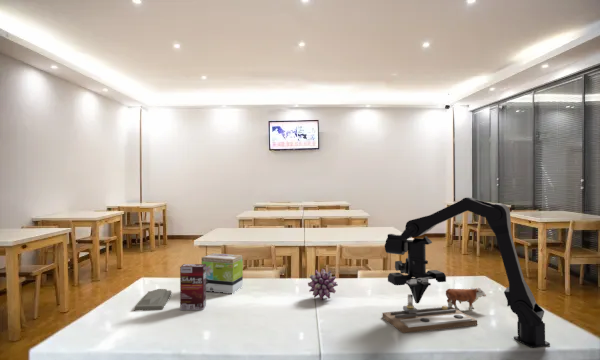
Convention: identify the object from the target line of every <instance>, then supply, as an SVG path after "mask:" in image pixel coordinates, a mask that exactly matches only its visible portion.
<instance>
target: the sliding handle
mask: <svg viewBox="0 0 600 360" xmlns="http://www.w3.org/2000/svg"><path fill="white" fill-rule="evenodd" d="M413 303H414V297H413V295H412V293H411V294H407V305H403V306H402V309H403V310H402V311H406V312H407V313H409V314H411V313H417V309H418V308H416V307H415V305H413Z"/></svg>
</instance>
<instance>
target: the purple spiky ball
mask: <svg viewBox="0 0 600 360" xmlns="http://www.w3.org/2000/svg"><path fill="white" fill-rule="evenodd" d="M314 273H315V275H314V274H310V275H309V276H308V277H309V279H310V280H311V281H309V282H307V285H308V287H310V289H309V290H308V291H309V293H310V292H313V293H312V296H313V297H314V298H316V297H318V296H319V299H320V300H324V297H327V298H328V299H331V293H333V294H335V293H336V292H337V290H336V289H335V288H334V287H337V286H338V283H337V281H335V279H337V276H335V275H334V276H332V275H333V273H332V270H329V271H328V272H327V271H326V270H325V269H324V268H321V271H318V269H316V270H315V272H314Z"/></svg>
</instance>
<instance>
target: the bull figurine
mask: <svg viewBox="0 0 600 360" xmlns="http://www.w3.org/2000/svg"><path fill="white" fill-rule="evenodd" d="M445 296H446V298H447V300H446V302H447V307H448V306H451V307H453V308H455V309H457V310H459V311H460V308H459V307H458V306H457V303H456V302H459V304H462V303H464V302H465V303H466V302H467V303H468V310H469V311H473V310H474V309H475V307H474V306H473V304H474V303H475V302H477V300H479V298H481V297H483V298H484V297H487V293H485V290H484V289H483V288H482V287H481V286H479V287H470V288H463V289H462V288H448V289H446V291H445Z"/></svg>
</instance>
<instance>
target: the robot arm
mask: <svg viewBox="0 0 600 360" xmlns="http://www.w3.org/2000/svg"><path fill="white" fill-rule="evenodd" d="M466 212H470V213H473V214H476V215H478V216H479V217H480V216H481V217H483V218H485V219H486V222H487V223H488V226H489V228H490V229H491V230H492V232H493V233H494V235H495V237H496V242H497V244H498V249H499V252H500V256H501V259H502V263H503V267H504V270H505V275H506V277H507V281H508V287H506V288H505V290H504V291H503V294H504V296H505V299H506V301H507V302H506V303H507V304H506V306H507V307H509V308H510V310H511V312H512V313H514V314H515V315H516V316H517V335H515V336H513V339H514V340H516V341H518V342H519V343H522V344H524V345H526V346H527V347H529V348H539V347H546V346H551V343H550V342H548V341H546V323H545V322H544V321H543V318H544V314H545V310H544V309H543V308H542V307H541V306H540V305H539V304H538V302H537V301H536V298H535V296H534V294H533V291H532V290H531V288H530V286H529V285H528V284H527V282H526V280H525V278H524V274H523V270H522V267H521V264H520V260H519V256H518V254H517V250H516V246H515V242H514V239H513V236H512V219H511V211H510V209H509V207H508V205H506V204H504V203H500V202H499V203H498V202H497V203H491V202H489V201H488V202H487V201H483V200H479V199H477V198H474V197H470V196H467V197H463V198H461V200H459V201H457V202H455V203H453V204H450V205H449V206H446V207H443V208H442V209H440V210H438V211H436V212H433V213H432V214H429V215H425V216H421V217H418V218H415V219H414V218H413V219H410V220H408V221H407V222H406V223H405V229H404V230H403V231H402V233H401V234H395V233H388V234H387V237H386V240H385V244H384V251H385V253H387V254H392V255H400V256H404V255H405V254H406V253H407V257H406V258H405V262H403V261H402V260H395V262H394V268H395V271H396V272H390V273H388V276H387V282H388V283H391V284H392V285H394V286H405V285H407V286H408V287H409V289H410V293H411V295H413V301H414V303H415V304H420V302H421V300H422V297H423V296H424V294H425V292H426V290H427V289H428V287H430V286H431V285H432V284H431V282H429V280H435V281H436V282H437V283H445V282H447V276H446V274H445V272H444V271H440V270H438V269H431V270H430V269H429V270H427V271H426V269H427V268H426V267H427V266H426V265H429V260H426V257H427V255H426V250H427V249H426V246H427V245H428V246H429V245H431V244H433V241H432V240H431V239H430V238H429V237H428V236H424V237H423V238H421V237H420V236H423V235H425V234H426V233H428V232H429V231H431V230H432V229H434V228H435V227H436V226H437V225H439V224H441V223H444V222H446V221H448V220H450V219H452V218H455V217H457V216H459V215H462V214H463V213H466ZM419 237H420V238H419ZM411 238H413V239H411ZM397 271H399V272H397Z"/></svg>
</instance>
